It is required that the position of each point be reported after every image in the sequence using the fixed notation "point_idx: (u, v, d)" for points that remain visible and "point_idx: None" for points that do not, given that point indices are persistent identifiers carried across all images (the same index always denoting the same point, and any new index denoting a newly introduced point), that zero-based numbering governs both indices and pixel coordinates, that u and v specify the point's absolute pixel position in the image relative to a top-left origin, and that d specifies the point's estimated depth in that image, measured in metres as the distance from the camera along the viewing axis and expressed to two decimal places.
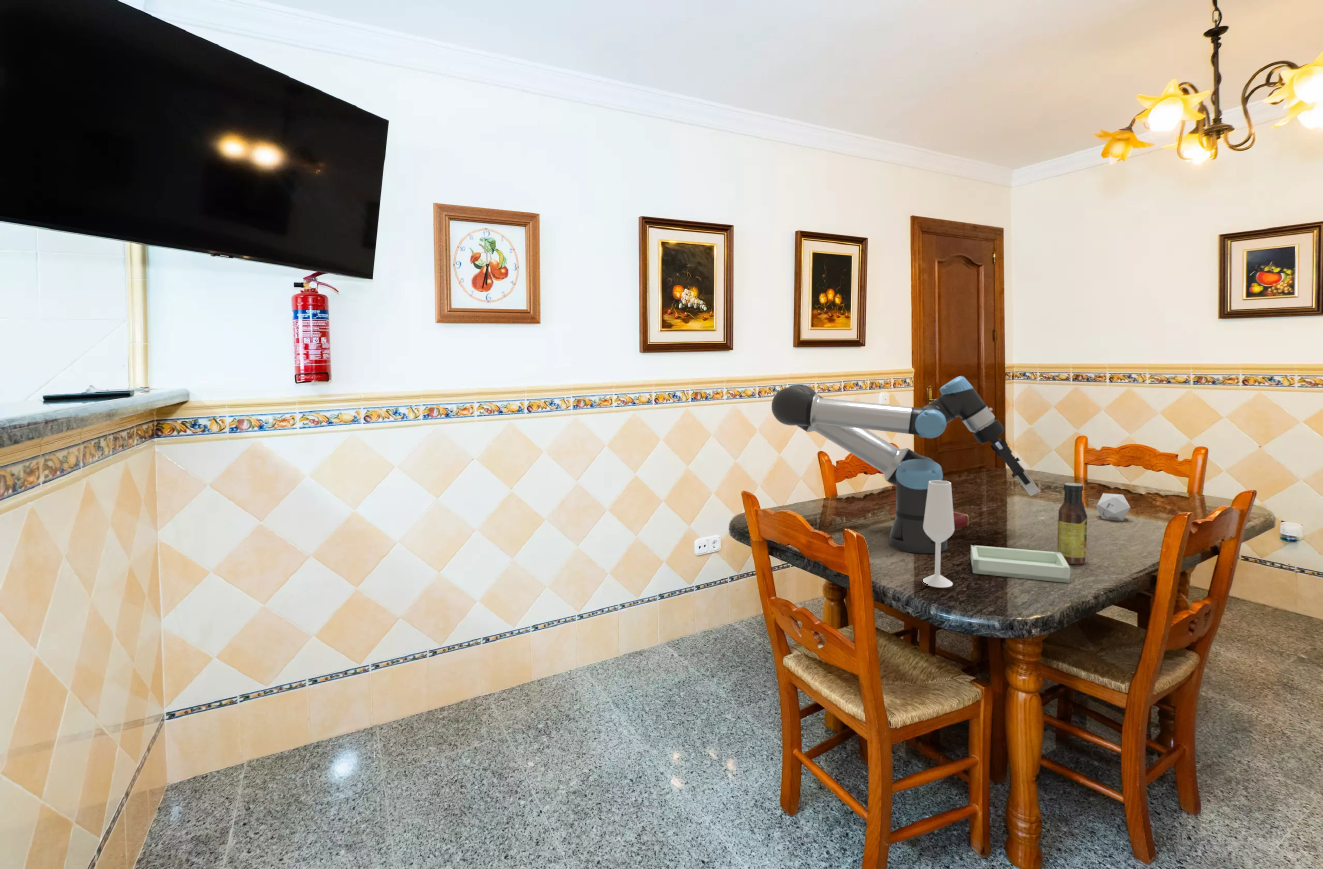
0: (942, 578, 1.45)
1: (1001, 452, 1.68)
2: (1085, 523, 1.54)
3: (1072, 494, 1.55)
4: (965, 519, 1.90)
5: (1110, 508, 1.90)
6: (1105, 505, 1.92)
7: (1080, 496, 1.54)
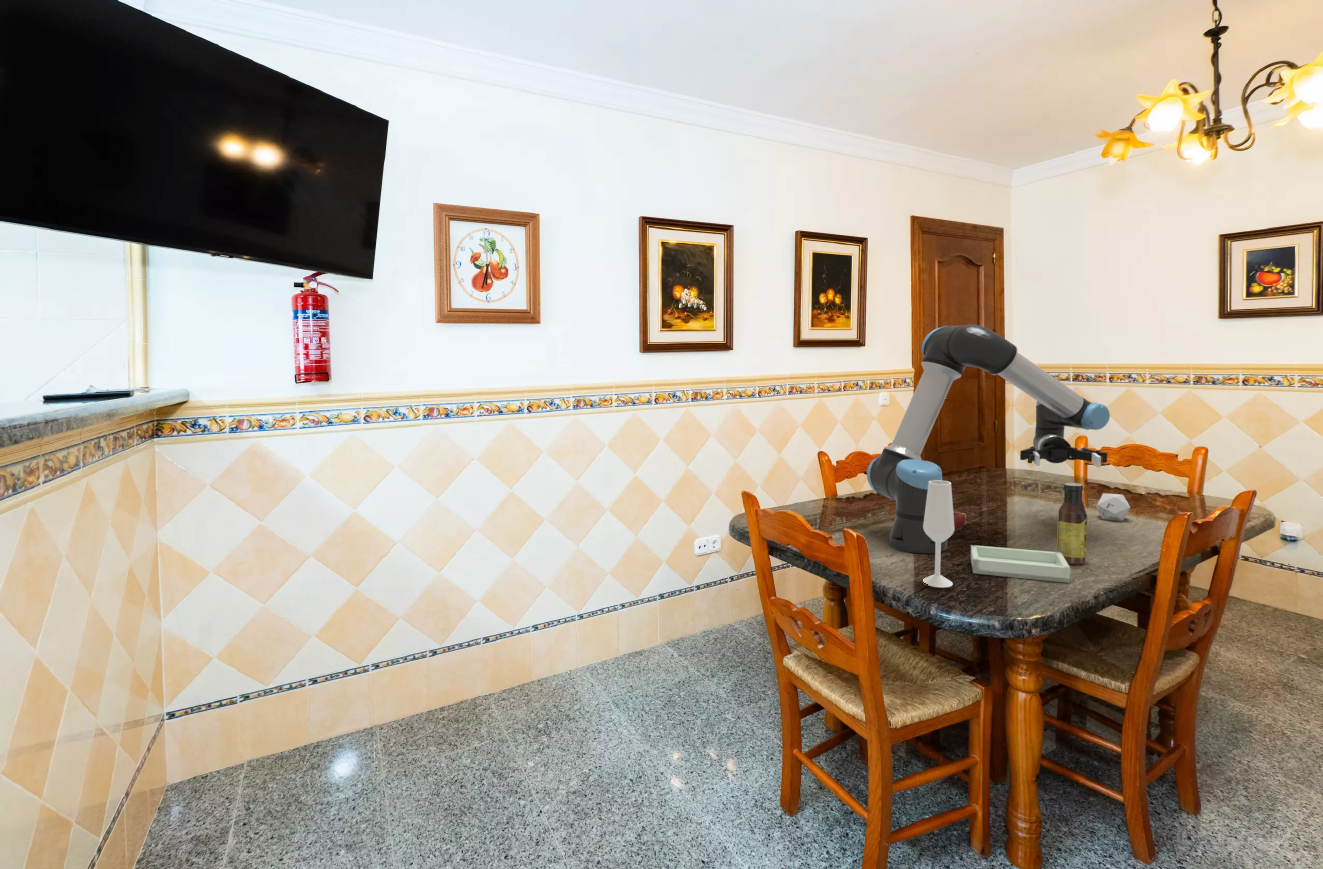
0: (942, 578, 1.45)
1: None
2: (1085, 523, 1.54)
3: (1072, 494, 1.55)
4: (962, 518, 1.91)
5: (1110, 508, 1.90)
6: (1105, 505, 1.92)
7: (1080, 496, 1.54)
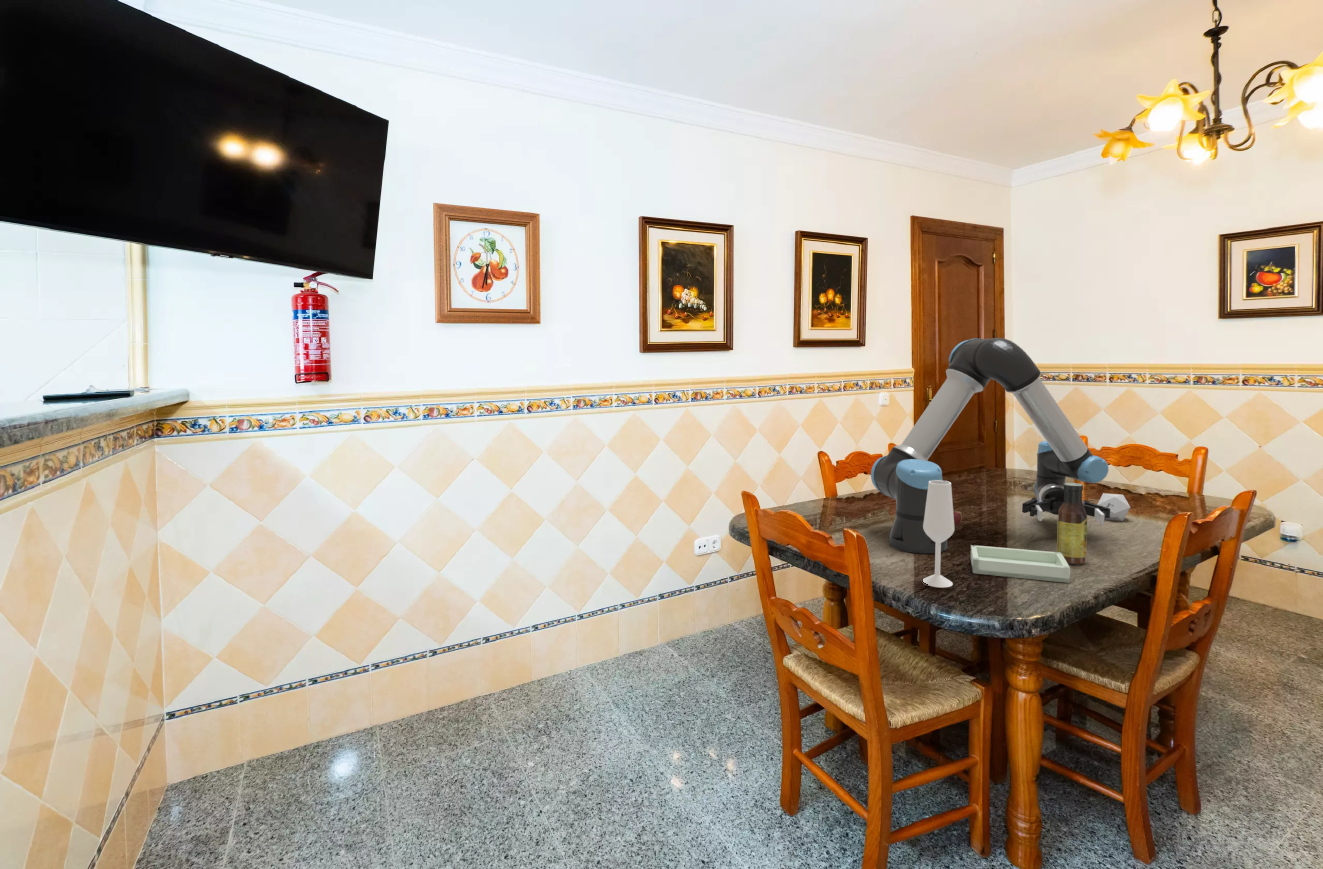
0: (942, 578, 1.45)
1: None
2: (1085, 523, 1.54)
3: (1072, 494, 1.55)
4: (959, 516, 1.93)
5: (1110, 508, 1.90)
6: (1105, 505, 1.92)
7: (1080, 496, 1.54)
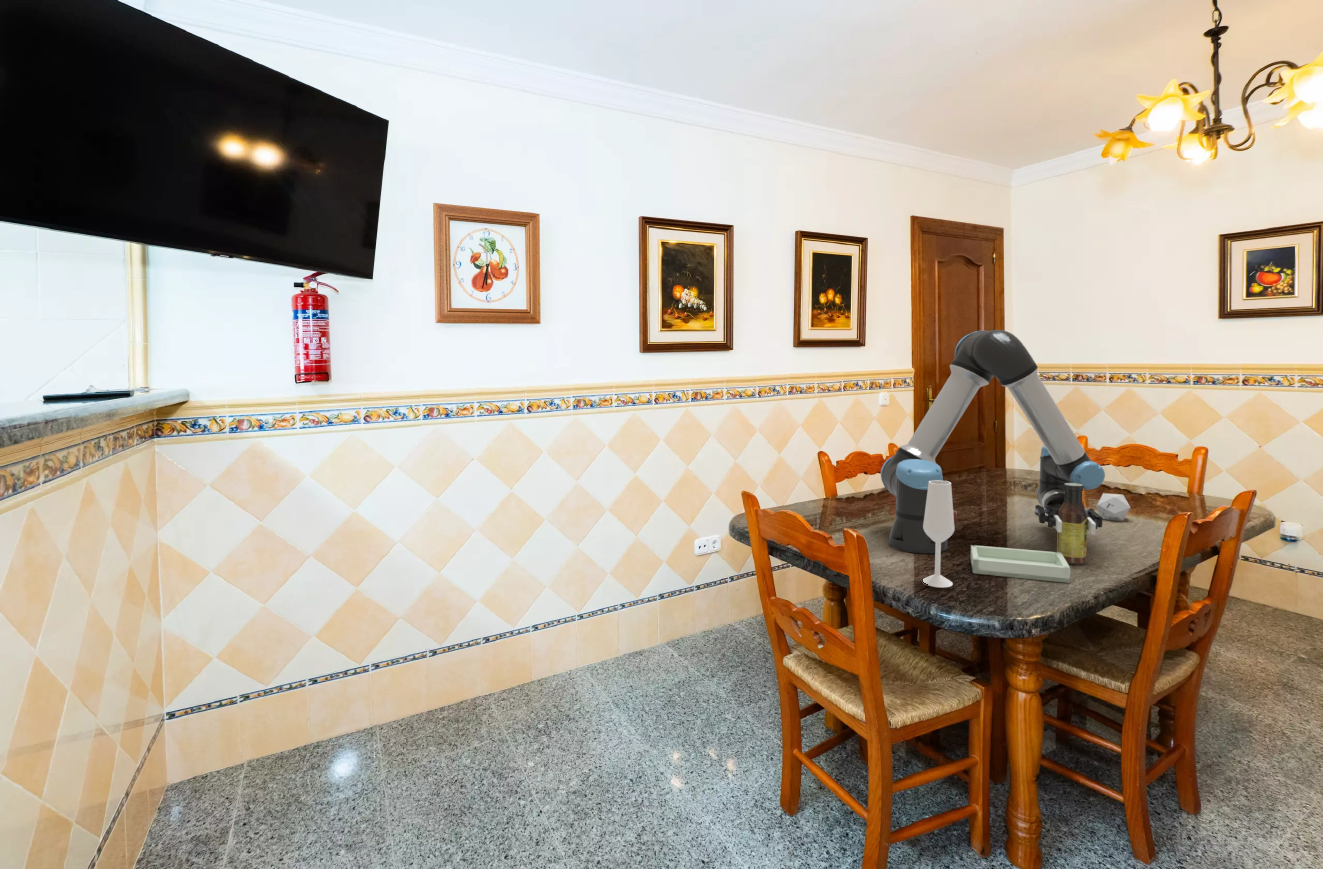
0: (942, 578, 1.45)
1: None
2: (1085, 523, 1.54)
3: (1072, 494, 1.55)
4: (955, 515, 1.94)
5: (1110, 508, 1.90)
6: (1105, 505, 1.92)
7: (1080, 496, 1.54)
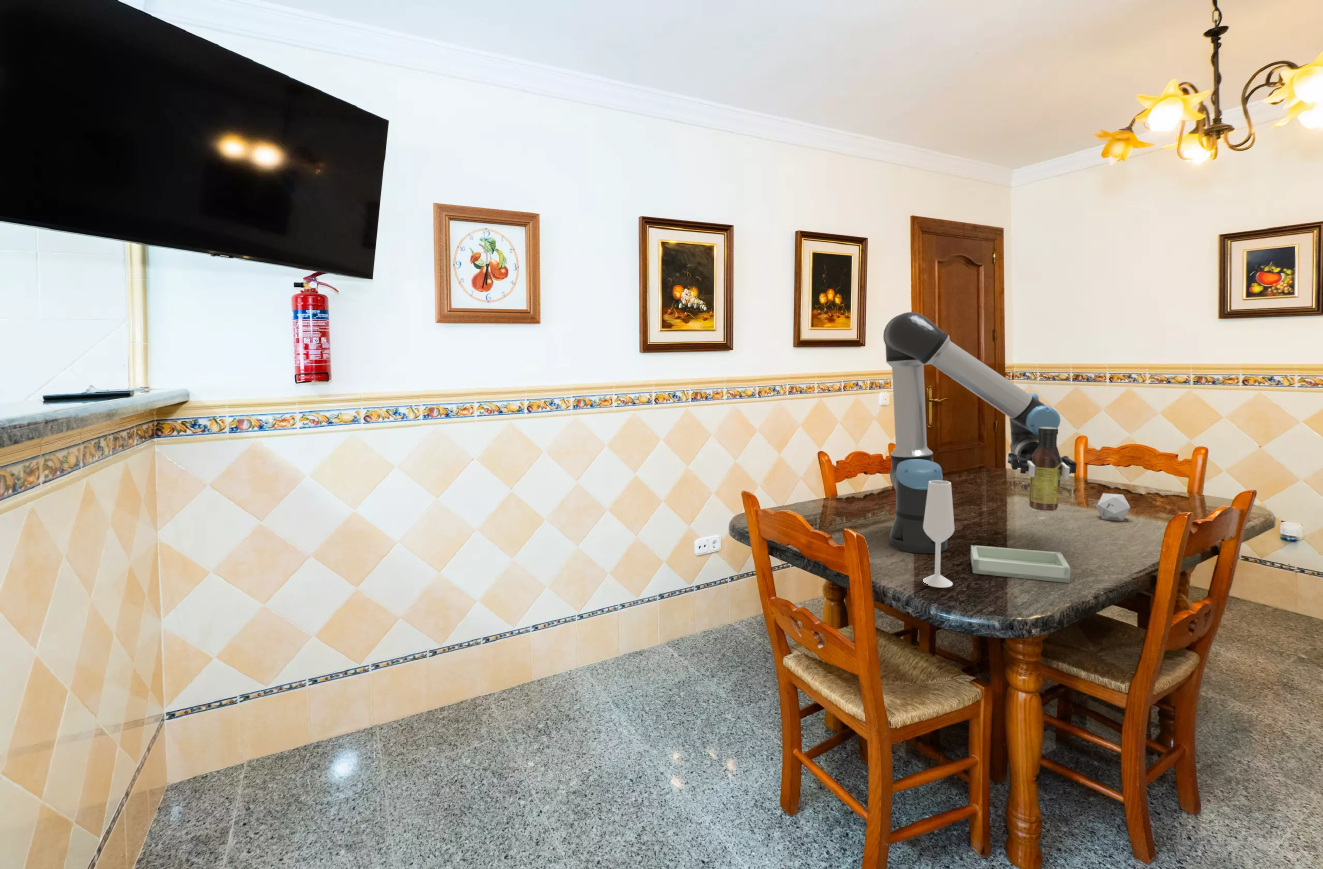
0: (942, 578, 1.45)
1: None
2: (1059, 468, 1.48)
3: (1046, 438, 1.48)
4: None
5: (1110, 508, 1.90)
6: (1105, 505, 1.92)
7: (1055, 440, 1.48)
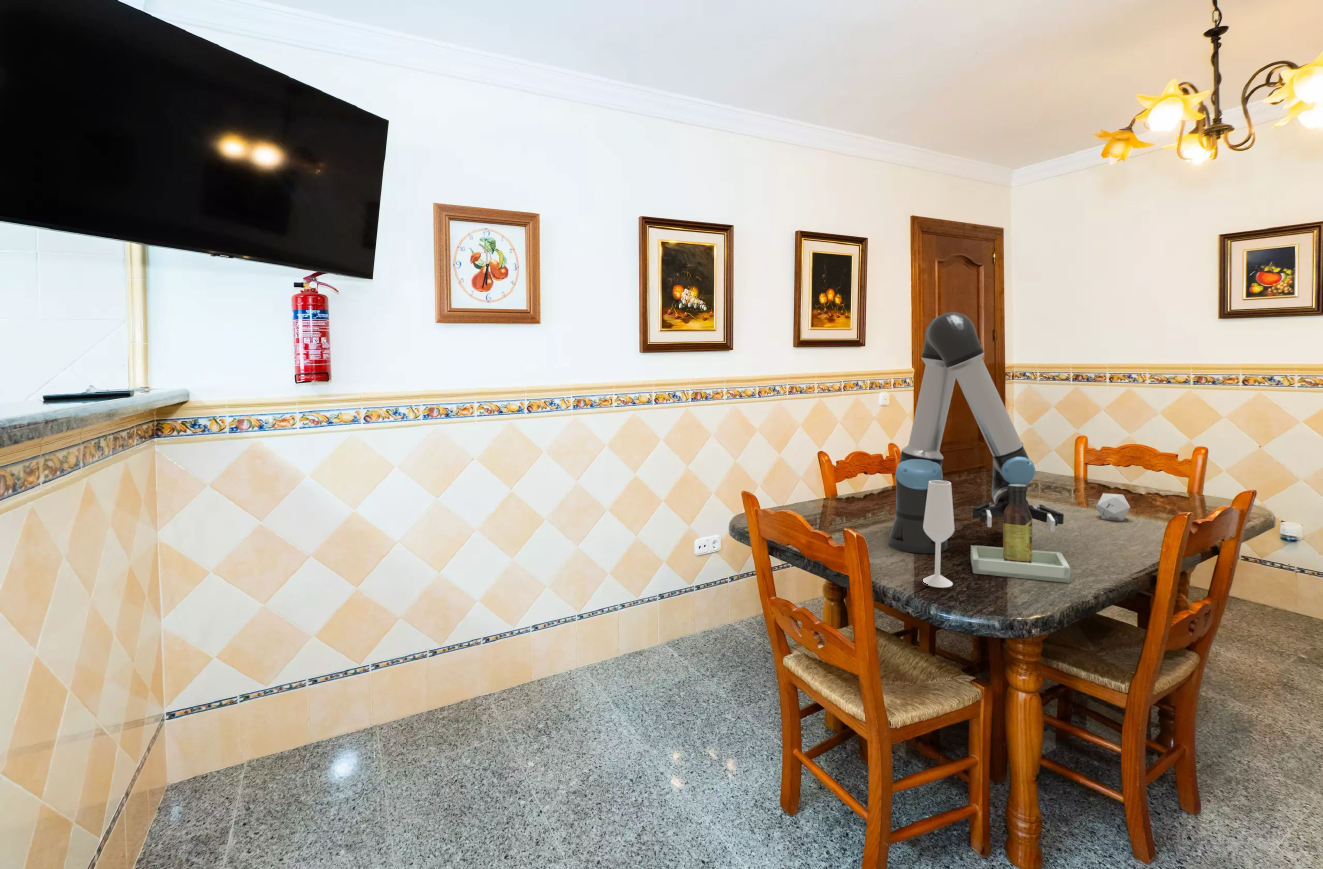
0: (942, 578, 1.45)
1: None
2: (1030, 525, 1.50)
3: (1016, 495, 1.51)
4: None
5: (1110, 508, 1.90)
6: (1105, 505, 1.92)
7: (1024, 497, 1.50)
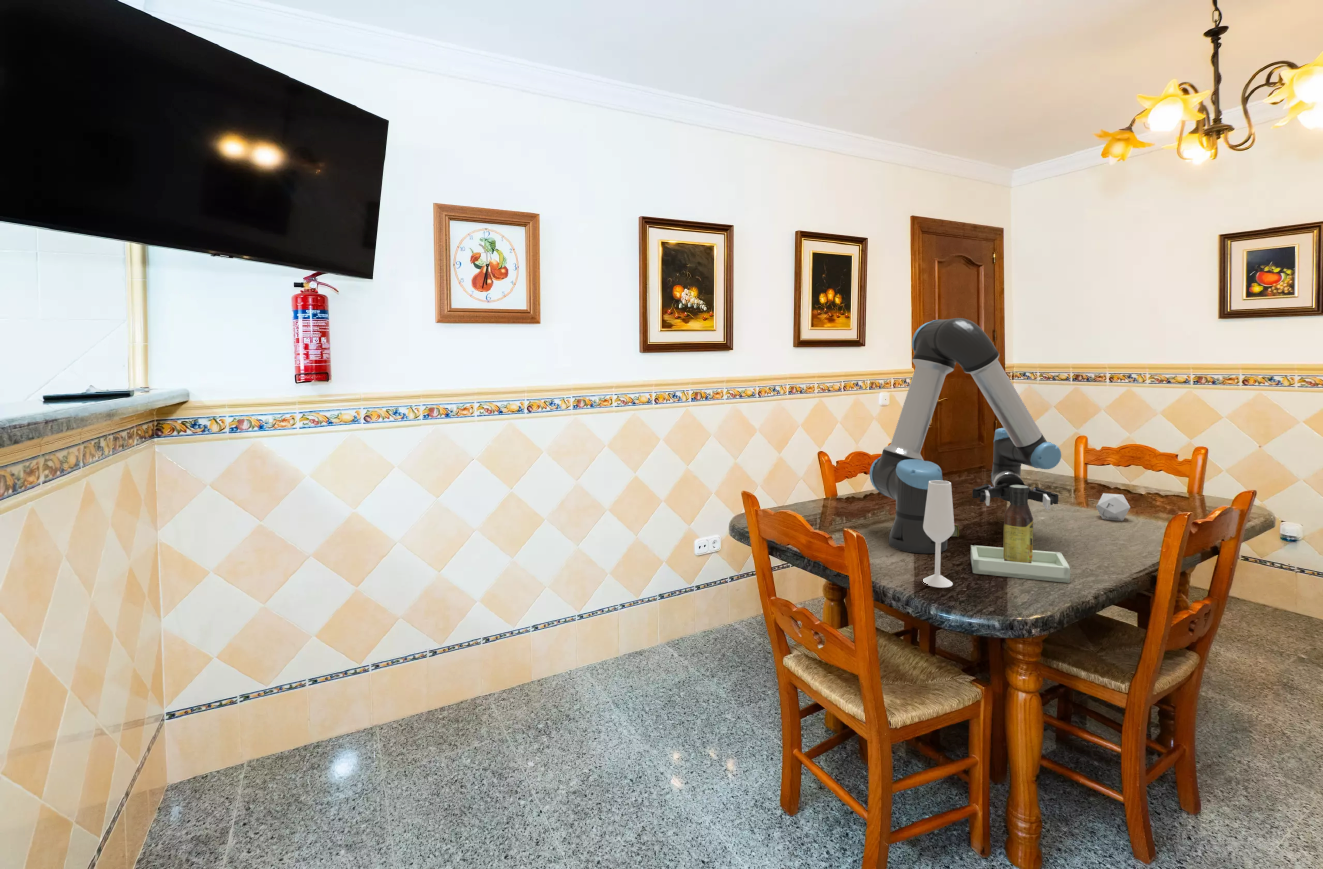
0: (942, 578, 1.45)
1: None
2: (1030, 526, 1.49)
3: (1017, 497, 1.50)
4: None
5: (1110, 508, 1.90)
6: (1105, 505, 1.92)
7: (1025, 498, 1.50)
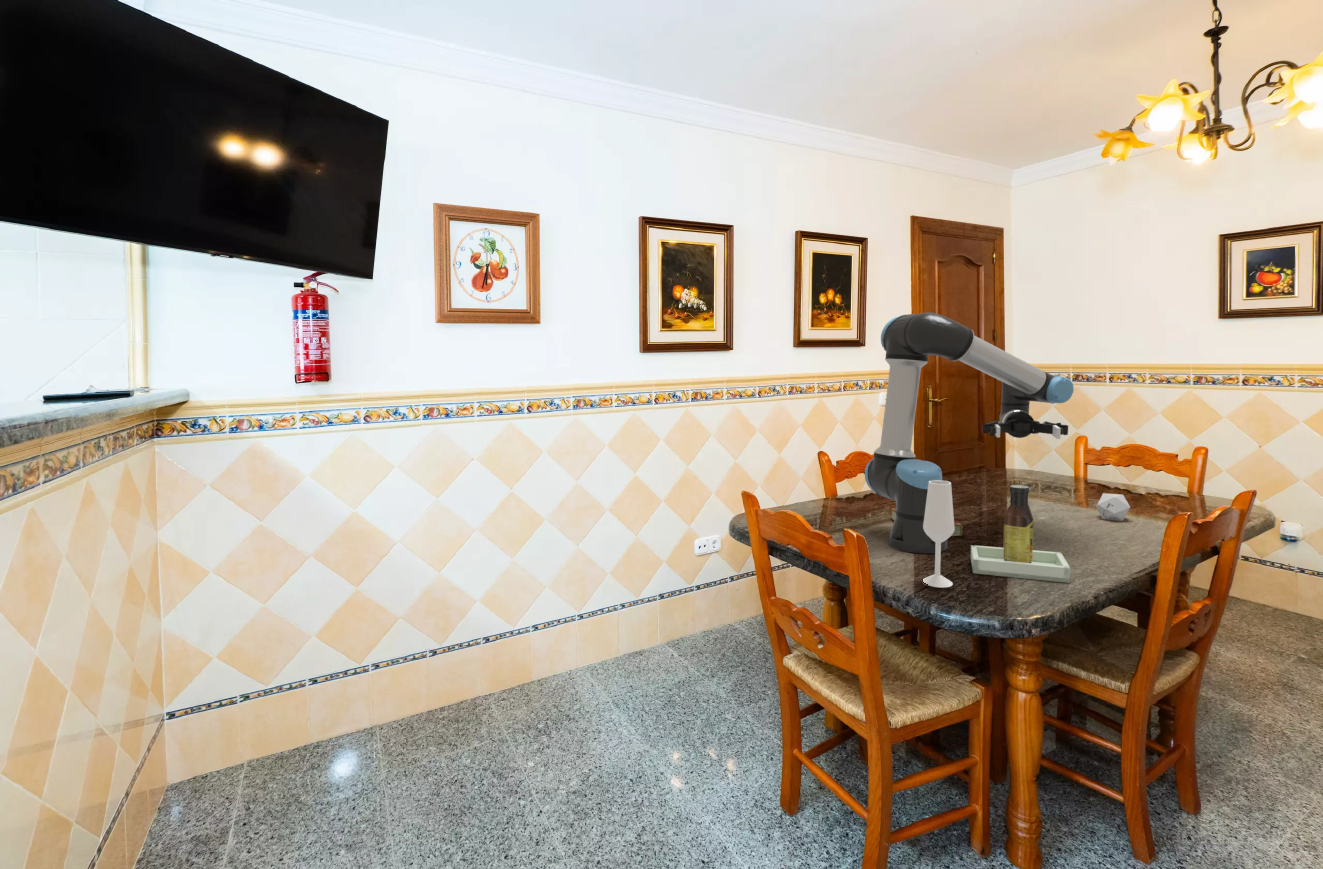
0: (942, 578, 1.45)
1: None
2: (1031, 526, 1.49)
3: (1017, 497, 1.50)
4: None
5: (1110, 508, 1.90)
6: (1105, 505, 1.92)
7: (1026, 499, 1.49)
